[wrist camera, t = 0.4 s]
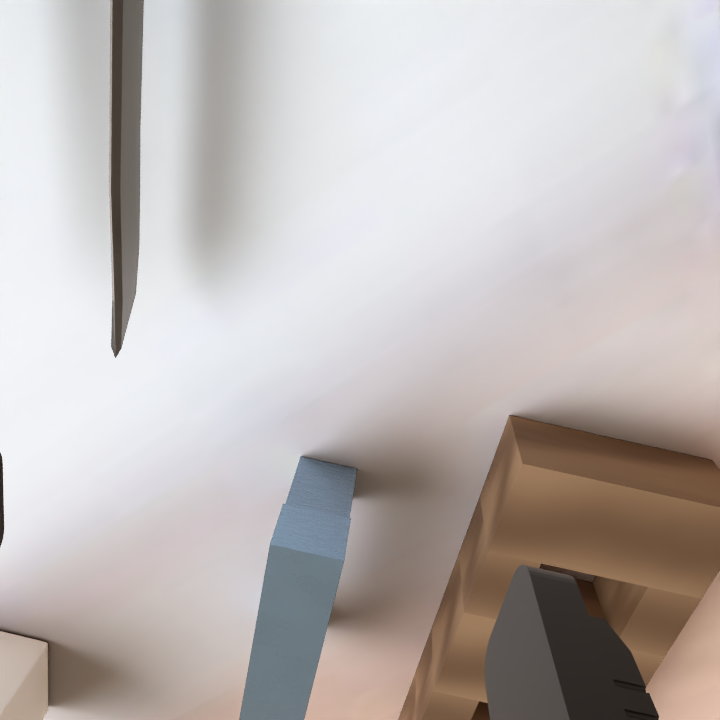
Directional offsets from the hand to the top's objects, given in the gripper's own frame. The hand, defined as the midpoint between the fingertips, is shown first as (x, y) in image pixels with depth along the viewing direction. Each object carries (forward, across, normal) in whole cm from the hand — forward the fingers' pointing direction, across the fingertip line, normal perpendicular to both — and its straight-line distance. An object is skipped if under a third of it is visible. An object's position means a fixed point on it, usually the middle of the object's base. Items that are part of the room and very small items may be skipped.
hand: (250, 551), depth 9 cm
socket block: (+20, -14, +17) cm, 29 cm away
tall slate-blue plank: (+20, -1, +16) cm, 25 cm away
